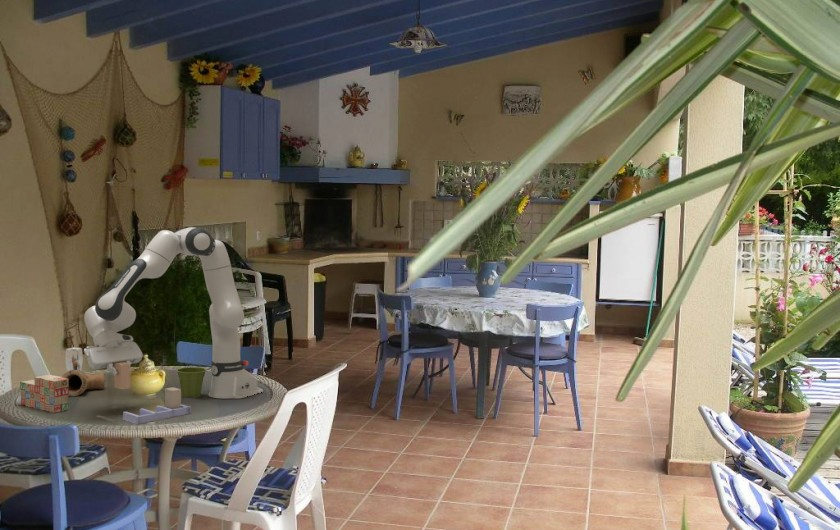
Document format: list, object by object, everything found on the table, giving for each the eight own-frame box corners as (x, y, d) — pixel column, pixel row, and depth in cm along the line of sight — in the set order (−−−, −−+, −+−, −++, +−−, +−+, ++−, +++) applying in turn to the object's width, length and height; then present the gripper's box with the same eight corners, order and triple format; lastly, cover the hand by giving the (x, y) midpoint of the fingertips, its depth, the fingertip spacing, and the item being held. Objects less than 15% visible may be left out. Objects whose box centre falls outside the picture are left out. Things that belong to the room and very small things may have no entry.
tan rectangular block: (123, 385, 331) (122, 361, 330) (130, 387, 327) (129, 363, 326) (114, 387, 328) (113, 363, 327) (121, 389, 325) (121, 364, 324)
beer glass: (69, 381, 387) (69, 347, 386) (85, 381, 387) (85, 347, 385) (62, 385, 380) (62, 350, 379) (79, 385, 380) (78, 350, 378)
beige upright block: (173, 411, 333) (173, 387, 332) (181, 413, 330) (180, 389, 329) (165, 412, 330) (164, 388, 330) (172, 415, 327) (172, 390, 326)
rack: (175, 411, 337) (175, 402, 336) (190, 415, 330) (190, 406, 330) (122, 421, 320) (122, 412, 320) (137, 426, 314) (137, 417, 313)
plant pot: (196, 401, 353) (195, 373, 352) (170, 399, 357) (170, 371, 356) (212, 395, 364) (212, 368, 363) (187, 393, 368) (187, 366, 367)
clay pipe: (57, 401, 366) (62, 397, 354) (54, 375, 368) (59, 370, 356) (105, 395, 376) (111, 391, 363) (102, 370, 378) (108, 365, 365)
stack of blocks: (20, 405, 343) (19, 373, 342) (35, 402, 348) (34, 371, 347) (54, 413, 331) (53, 380, 330) (69, 410, 337) (68, 378, 336)
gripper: (85, 342, 323) (99, 372, 317) (135, 335, 338) (150, 364, 333) (79, 352, 326) (93, 383, 321) (129, 345, 342) (144, 374, 336)
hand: (123, 373), depth 327 cm, fingers closed on tan rectangular block, 3 cm apart
